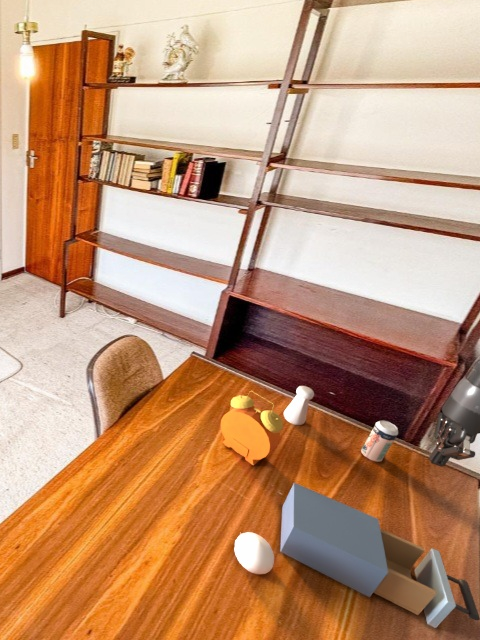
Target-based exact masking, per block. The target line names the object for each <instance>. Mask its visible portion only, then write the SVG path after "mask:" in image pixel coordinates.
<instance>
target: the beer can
mask: <svg viewBox="0 0 480 640" xmlns="http://www.w3.org/2000/svg"><path fill="white" fill-rule="evenodd" d="M398 429H399V428H398V426H396V425H395V424H393V423H391V422H390V421H388V420H379V421H377V422H375V424H374V426H373V428H372V429H371V432H370V433H369V435H368V437H367V438H366V440H365V442H364V444H363V445H362V447H361V450H360V452H361V454H362V455H363V456H364V457H365V458H367V459H368V460H370V461H373V462H376V463H379V462H382V461H383V459H384V458H385V456H386V454H387V453H388V452H389V450H390V448H391V446H392V444H393V443H394V441H396V438H397V436H398V435H399V430H398Z"/></svg>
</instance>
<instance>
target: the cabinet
mask: <svg viewBox="0 0 480 640" xmlns="http://www.w3.org/2000/svg"><path fill="white" fill-rule="evenodd" d="M380 529H381V525H380V519H379V518H378V517H374V516H373V515H370V514H367V513H366V512H363V511H361V510H359V509H356V508H354V507H352V506H349V505H347V504H345V503H342V502H341V501H338V500H336V499H333V498H331V497H328V496H327V495H324V494H322V493H320V492H317V491H315V490H312V489H310V488H307V487H306V486H303V485H301V484H299V483H296V482H293V483H292V486H291V488H290V490H289V492H288V494H287V496H286V498H285V501H284V503H283V505H282V508H281V529H280V550H279V552H280V553H281V554H284V555H286V556H288V557H289V558H291V559H293V560H295V561H298V562H299V563H301V564H303V565H305V566H307V567H309V568H310V569H311V568H312V569H313V570H315V571H317V572H319V573H321V574H323V575H325V576H326V577H328V578H331V579H332V580H334V581H337V582H338V583H341V584H342V585H344V586H346V587H348V588H349V589H352V590H354V591H356V592H357V593H360V594H362V595H363V596H366V597H367V598H371V596H372V594H374V593H373V592H374V591H375V590H376V588H377V587H378V586H379V584H380V583H381V582H382V580H383V579H384V578H385V576H386V575H387V574H388V568H387V562H386V557H385V551H384V546H383V541H382V535H381V530H380Z"/></svg>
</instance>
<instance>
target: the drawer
mask: <svg viewBox="0 0 480 640" xmlns="http://www.w3.org/2000/svg"><path fill="white" fill-rule="evenodd" d="M380 530H381V535H382V541H383V546H384V551H385V557H386V562H387V568H388V574H387V575H386V576H385V578H384V579H383V580H382V582H381V583H380V584H379V586H378V587H377V588H376V590H375V591H374V592H373V594H375V595H377V596H379V597H381V598H383V599H385V600H387V601H389V602H391V603H393V604H395V605H397V606H399V607H401V608H403V609H405V610H407V611H409V612H410V613H413V614H414V615H417V616H419V615H420V614H421V613H422V612H423V611H424V616H425V620H426V624H427V625H428V626H430V627H432V628H434V629H437V628H438V627H439V625H440V624H441V623H442V622H444V620H445V619H446V618H447V617H448V616H449V615H450V614H451V613H452V611H453V610H454V609H456V610H458V611H460V612H462V613H463V614H466V615H467V616H468V618H470V619H471V620H473V621H478V622H479V621H480V614H479V612H478V608H477V606H476V603H475V600H474V598H473V597H474V596H473V594H472V591H471V588H470V586H469V583H468V581H466V579H462V578H459V579H457V578H455V577H453V576H452V575H449V574H447V572H446V568H445V565H444V562H443V558H442V556H441V553H440V551H439V550H438V549H435V548H433V547H431V549H429V551H428V552H427V554H426V555H425V556H424V557H423V559H422V560H421V561H420V562H419V564H418V565H416V567H415V569H414V574H415V579H416V580H415V579H413V578H412V577H413V576H412V573H411V569H412V568H413V566H414V565H415V564H416V563H417V561H418V560H419V559H420V557H421V556H422V555H423V554H424V553H425V548H424V547H423V546H421V545H418V544H416V543H414V542H412V541H409V540H407V539H405V538H403V537H400V536H398V535H396V534H393V533H391V532H390V531H387V530H384V529H382V528H380ZM450 582H452V583H454V584H456V585H458V587H459V590H460V594H461V597H462V599H463V602H464V606H465V607H464V606H461V605H460V604H457V603H456V601H455V598H454V597H455V596H454V594H453V591H452V587H451V585H450Z"/></svg>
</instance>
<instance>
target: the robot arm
mask: <svg viewBox="0 0 480 640" xmlns="http://www.w3.org/2000/svg"><path fill="white" fill-rule="evenodd" d="M441 411H442V412H439V413H438V419H437V422H436V427H435V431H434V439H436V441H435V444H434V445H435V447H434V448H433V450H432V452H431V453H430V455H429V456H428V459H429V461H430V463H431V464H433V465H435V466H437V467H440V468H441V467H445V466H446V464H447V463H448V461H450V459H454V460H457V461H462V460H467V459H473V458H475V456H476V451H474V450H472V449H471V444H473V443H474V442H475V441H476V438H477V436H478V434H480V355H479V356H478V357H476V359H475V360H474V361H473V363H472V364H471V365H470V367H469V369H468V371H467V372H466V373H465V375H464V376H463V378H461V379H460V380H459V381H458V383H456V386H455V387H454V388H453V390H452V391H451V393H450V394H449V396H448V397H447V399H446V400H445V402H444V404H443V405H442V407H441Z"/></svg>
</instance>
